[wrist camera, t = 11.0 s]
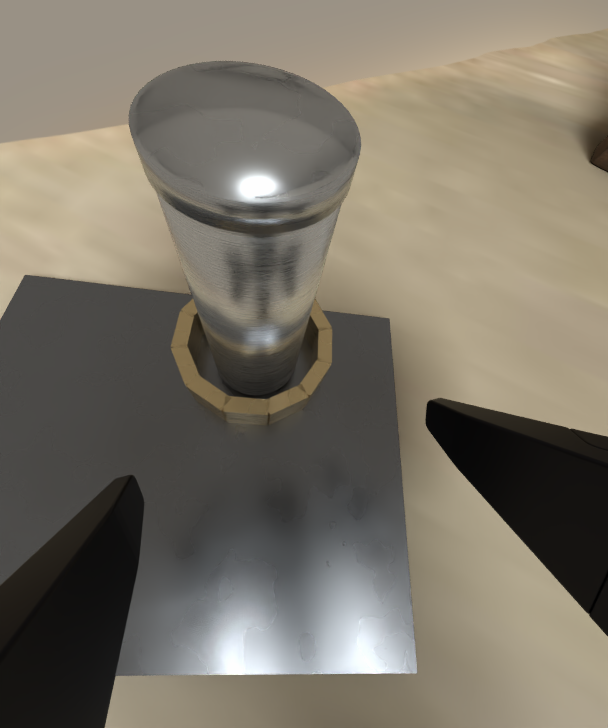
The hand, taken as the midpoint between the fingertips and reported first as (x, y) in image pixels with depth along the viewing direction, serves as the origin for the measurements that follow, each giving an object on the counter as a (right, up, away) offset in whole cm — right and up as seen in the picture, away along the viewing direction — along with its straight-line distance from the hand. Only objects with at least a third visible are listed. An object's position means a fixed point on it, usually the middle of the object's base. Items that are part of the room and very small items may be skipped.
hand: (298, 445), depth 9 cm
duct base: (-6, -2, +8) cm, 10 cm away
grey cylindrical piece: (-3, +3, +10) cm, 11 cm away
